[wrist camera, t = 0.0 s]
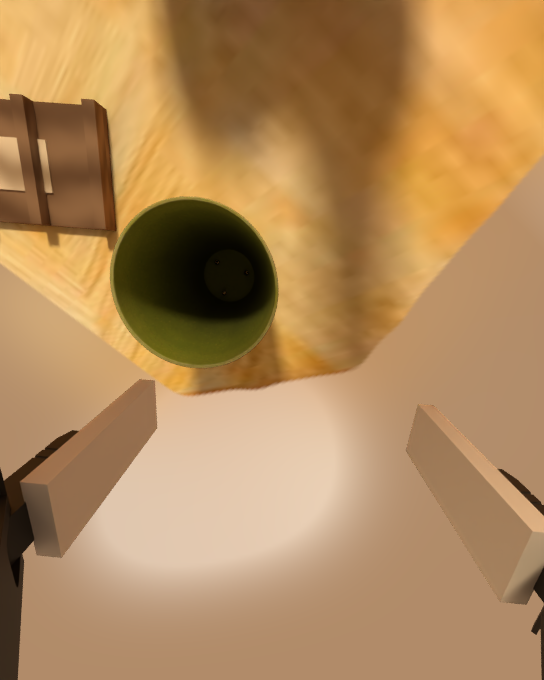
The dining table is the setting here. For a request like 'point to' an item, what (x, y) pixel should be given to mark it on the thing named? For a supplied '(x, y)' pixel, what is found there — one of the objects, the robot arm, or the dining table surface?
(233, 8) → the dining table surface
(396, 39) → the dining table surface
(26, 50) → the dining table surface
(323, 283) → the dining table surface
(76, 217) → the slot board
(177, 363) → the flower pot
